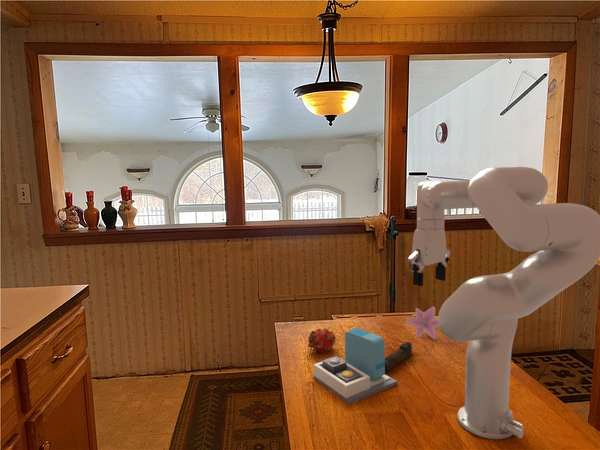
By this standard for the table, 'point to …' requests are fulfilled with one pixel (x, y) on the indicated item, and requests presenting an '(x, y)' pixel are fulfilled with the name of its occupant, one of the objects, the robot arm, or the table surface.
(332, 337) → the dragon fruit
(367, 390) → the board
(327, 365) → the grey square block
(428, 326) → the lily
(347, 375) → the tagged breaker
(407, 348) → the hand tool
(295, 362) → the table surface
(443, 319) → the robot arm
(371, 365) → the data package
